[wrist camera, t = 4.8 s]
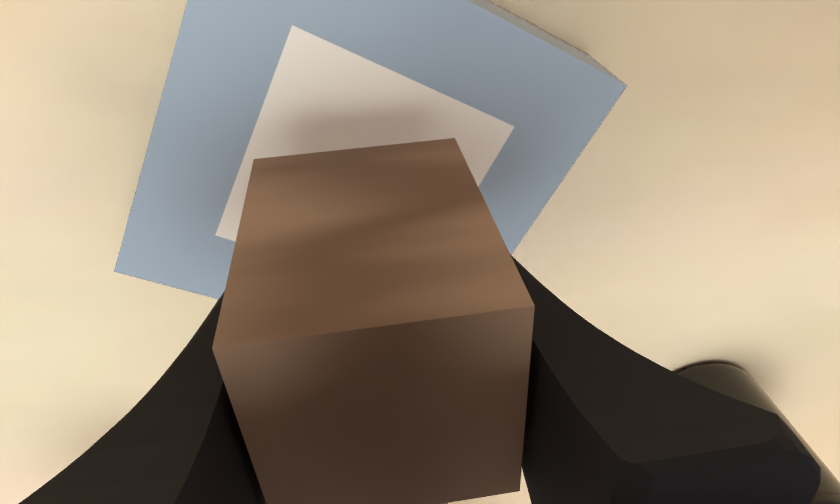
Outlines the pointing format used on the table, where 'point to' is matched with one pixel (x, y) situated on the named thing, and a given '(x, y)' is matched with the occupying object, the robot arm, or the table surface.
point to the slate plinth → (351, 112)
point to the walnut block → (375, 330)
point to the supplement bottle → (832, 497)
